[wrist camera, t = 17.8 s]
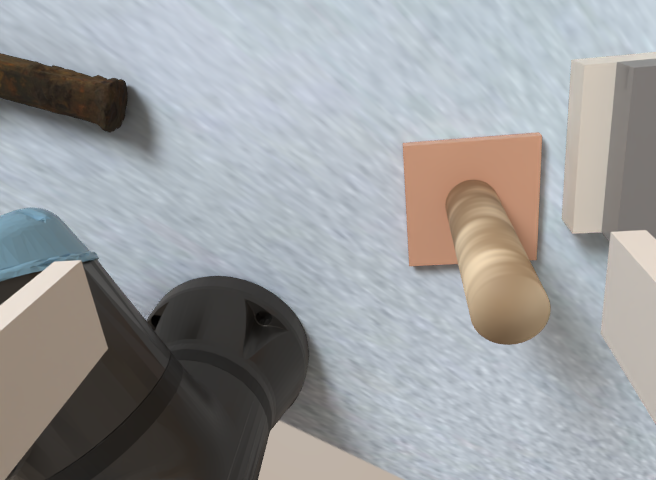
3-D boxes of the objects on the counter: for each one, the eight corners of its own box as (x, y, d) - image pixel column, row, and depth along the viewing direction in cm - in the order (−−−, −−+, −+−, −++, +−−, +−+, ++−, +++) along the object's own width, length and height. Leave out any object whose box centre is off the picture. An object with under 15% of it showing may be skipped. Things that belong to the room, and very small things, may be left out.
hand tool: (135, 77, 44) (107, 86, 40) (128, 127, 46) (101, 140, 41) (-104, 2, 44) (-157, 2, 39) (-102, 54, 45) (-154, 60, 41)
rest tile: (408, 260, 48) (409, 266, 47) (402, 142, 44) (402, 146, 43) (533, 254, 46) (536, 260, 45) (538, 132, 42) (541, 135, 41)
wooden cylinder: (445, 229, 45) (470, 345, 30) (444, 181, 43) (469, 279, 29) (498, 227, 44) (548, 343, 30) (498, 177, 43) (552, 275, 28)
